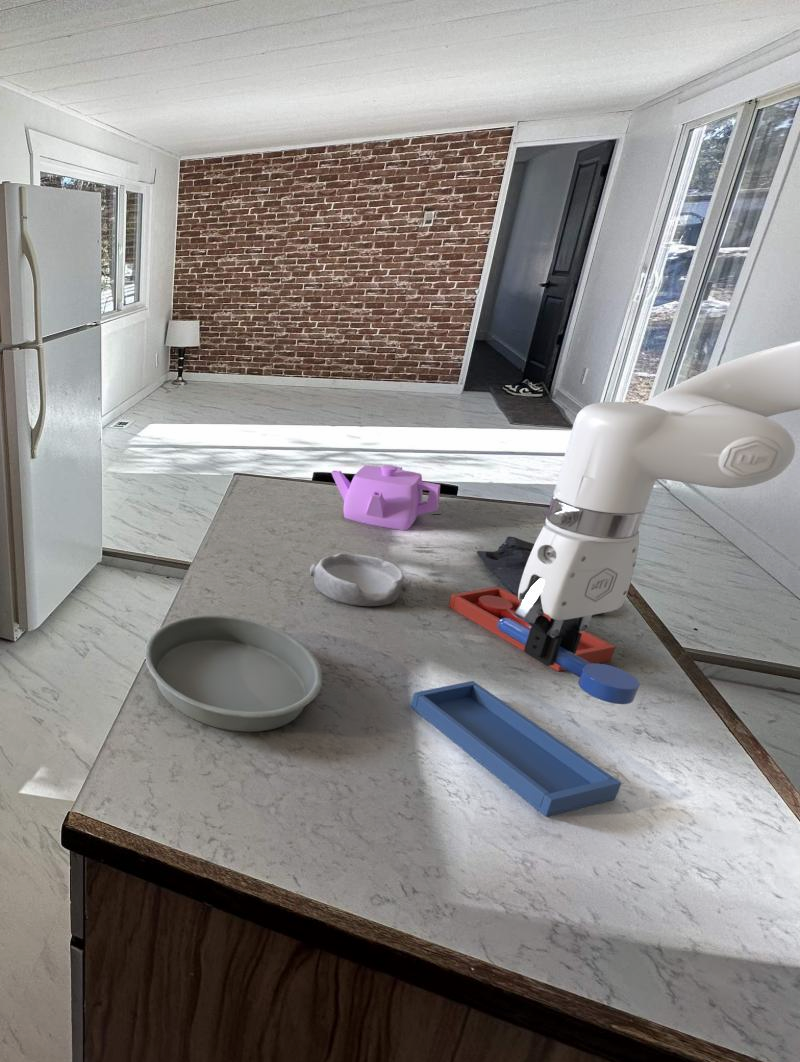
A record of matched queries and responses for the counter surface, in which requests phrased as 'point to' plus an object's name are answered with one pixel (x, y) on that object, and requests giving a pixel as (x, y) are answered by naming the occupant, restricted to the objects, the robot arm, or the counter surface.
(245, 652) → the cake pan
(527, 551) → the dark slate chunk
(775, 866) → the counter surface
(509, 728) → the blue tray
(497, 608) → the red spoon
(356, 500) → the teakettle
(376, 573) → the dish
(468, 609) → the red tray
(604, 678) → the blue spoon
